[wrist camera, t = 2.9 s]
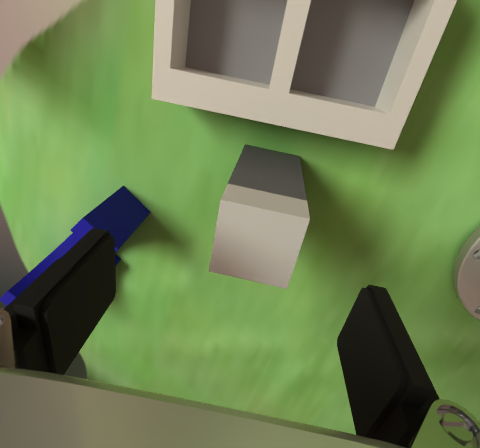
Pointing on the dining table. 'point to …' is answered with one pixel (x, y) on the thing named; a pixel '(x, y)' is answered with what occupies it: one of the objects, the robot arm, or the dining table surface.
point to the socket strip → (300, 61)
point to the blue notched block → (102, 217)
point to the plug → (261, 218)
